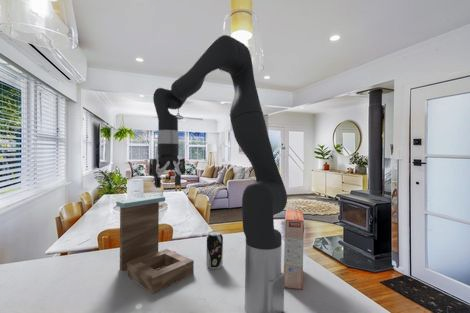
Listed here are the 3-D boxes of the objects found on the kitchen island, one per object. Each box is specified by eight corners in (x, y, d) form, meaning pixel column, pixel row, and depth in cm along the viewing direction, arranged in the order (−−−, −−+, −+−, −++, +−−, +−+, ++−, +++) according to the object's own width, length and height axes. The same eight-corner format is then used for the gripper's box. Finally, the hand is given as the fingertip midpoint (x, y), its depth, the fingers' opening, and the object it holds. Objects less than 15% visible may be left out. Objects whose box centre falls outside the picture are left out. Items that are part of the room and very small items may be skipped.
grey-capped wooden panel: (164, 258, 92) (165, 197, 91) (122, 274, 79) (123, 203, 79) (157, 255, 95) (157, 195, 95) (115, 270, 82) (116, 201, 82)
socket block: (193, 273, 80) (193, 260, 80) (153, 293, 69) (153, 278, 69) (166, 260, 90) (166, 248, 90) (127, 276, 78) (127, 262, 78)
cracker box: (303, 290, 71) (304, 220, 71) (282, 288, 73) (284, 218, 73) (301, 269, 85) (302, 209, 85) (284, 266, 86) (285, 208, 86)
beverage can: (207, 270, 83) (207, 235, 83) (205, 263, 88) (206, 230, 88) (223, 269, 84) (224, 235, 84) (221, 262, 90) (221, 229, 89)
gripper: (157, 141, 82) (157, 189, 82) (189, 143, 93) (189, 185, 93) (145, 142, 87) (145, 187, 87) (177, 144, 98) (177, 184, 98)
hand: (168, 186), depth 90 cm, fingers open, 8 cm apart
